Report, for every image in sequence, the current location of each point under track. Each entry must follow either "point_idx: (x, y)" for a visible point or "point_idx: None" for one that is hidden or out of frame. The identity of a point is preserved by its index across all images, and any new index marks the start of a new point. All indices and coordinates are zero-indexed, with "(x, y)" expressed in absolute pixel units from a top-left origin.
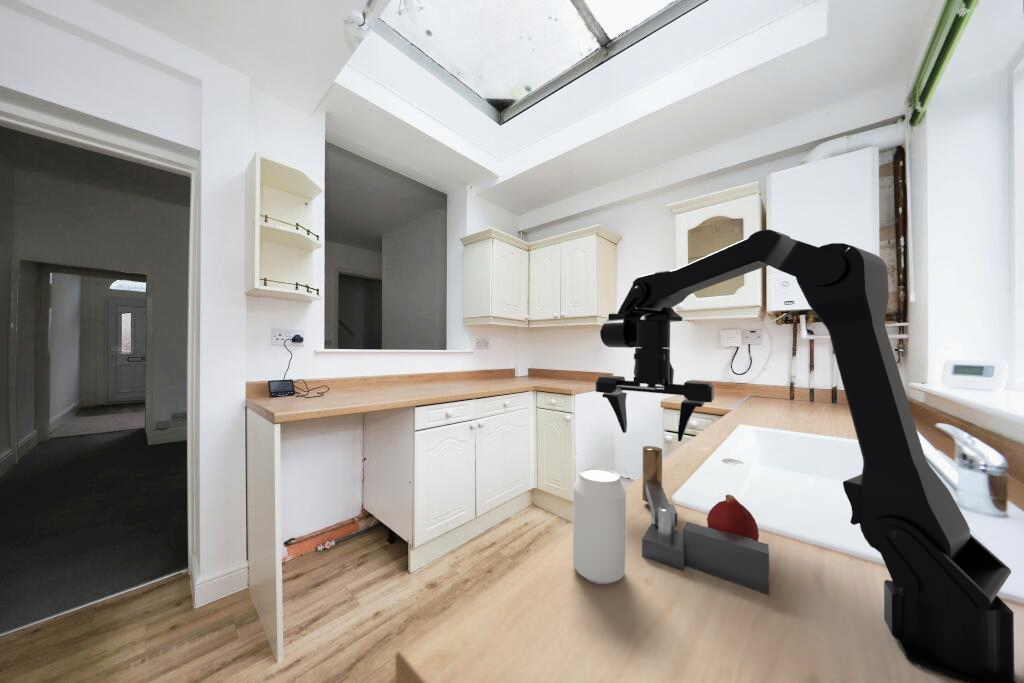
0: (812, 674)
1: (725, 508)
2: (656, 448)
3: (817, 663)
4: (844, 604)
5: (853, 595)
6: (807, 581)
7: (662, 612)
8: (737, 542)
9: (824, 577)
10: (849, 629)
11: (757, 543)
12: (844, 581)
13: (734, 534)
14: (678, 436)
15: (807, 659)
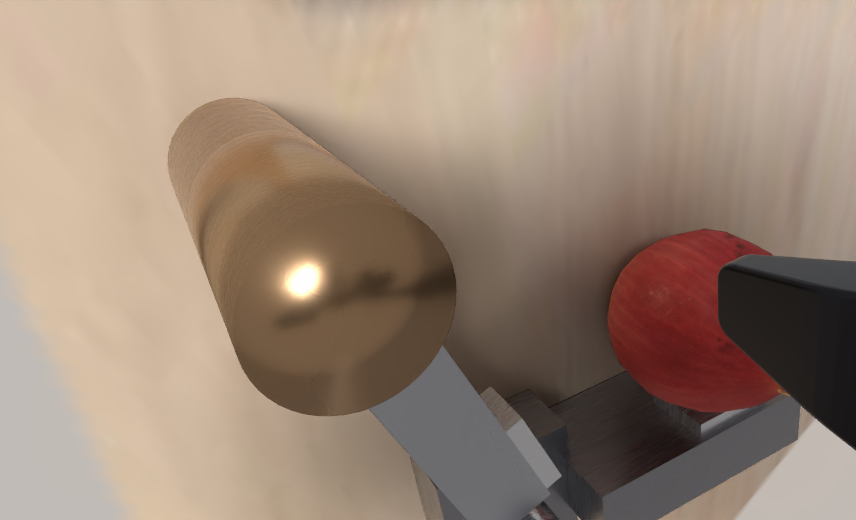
0: (744, 506)
1: (752, 404)
2: (379, 265)
3: (753, 478)
4: (821, 258)
5: (845, 197)
6: (776, 229)
7: None
8: (738, 463)
9: (812, 165)
10: None
11: (779, 413)
12: (845, 140)
13: (725, 412)
14: (777, 377)
15: (743, 484)
